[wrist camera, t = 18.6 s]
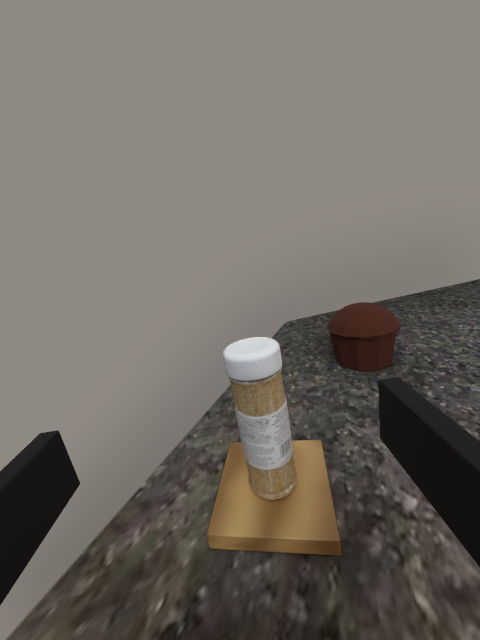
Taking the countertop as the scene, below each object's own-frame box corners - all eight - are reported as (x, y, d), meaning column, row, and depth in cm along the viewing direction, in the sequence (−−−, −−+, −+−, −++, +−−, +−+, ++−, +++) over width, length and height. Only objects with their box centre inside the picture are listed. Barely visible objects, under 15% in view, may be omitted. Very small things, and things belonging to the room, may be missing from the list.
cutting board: (209, 549, 21) (206, 535, 20) (232, 452, 30) (230, 442, 30) (341, 556, 19) (340, 540, 18) (322, 451, 28) (320, 439, 28)
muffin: (350, 343, 54) (348, 295, 51) (411, 354, 45) (412, 297, 43) (316, 365, 47) (311, 312, 45) (381, 383, 39) (379, 318, 36)
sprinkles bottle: (270, 453, 27) (250, 332, 24) (308, 476, 24) (291, 339, 20) (238, 483, 24) (210, 350, 21) (276, 514, 21) (249, 362, 18)
